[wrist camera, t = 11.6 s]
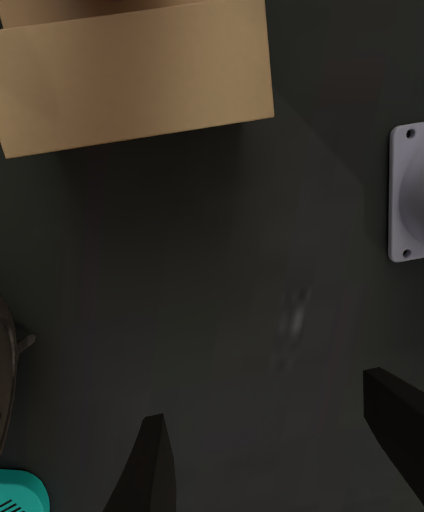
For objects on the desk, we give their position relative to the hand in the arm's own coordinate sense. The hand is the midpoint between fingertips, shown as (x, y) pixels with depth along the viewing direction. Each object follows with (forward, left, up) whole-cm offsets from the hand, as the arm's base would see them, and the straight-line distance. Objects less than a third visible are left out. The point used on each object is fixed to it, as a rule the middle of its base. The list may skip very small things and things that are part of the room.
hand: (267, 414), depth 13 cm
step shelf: (+3, -15, -10) cm, 19 cm away
